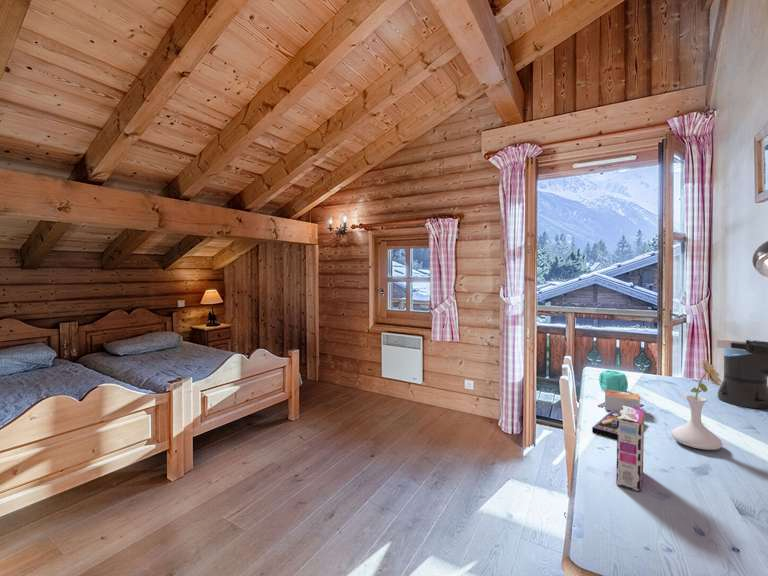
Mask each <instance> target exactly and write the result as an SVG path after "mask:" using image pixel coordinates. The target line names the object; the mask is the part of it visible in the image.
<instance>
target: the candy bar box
mask: <svg viewBox="0 0 768 576" xmlns="http://www.w3.org/2000/svg"><path fill="white" fill-rule="evenodd" d="M618 413H619V415H618V417H617V439H616V481H615V484H616V485H617V486H619V487H623V488H626V489H628V488H629V490H631V489H633V490H632V491H634V490H637V491H636V492H638V491H639V493H640V492H641V488H642V480H643V476H644V439H645V437H644V436H645V435H644V434H645V409H643V408H640V409H639V408H634V407H628V406H622V408H621V410H620V412H618Z"/></svg>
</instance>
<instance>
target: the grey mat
mask: <svg viewBox="0 0 768 576" xmlns="http://www.w3.org/2000/svg"><path fill="white" fill-rule="evenodd" d="M599 406H601V407H600V408H603V407H605V401H604V402H602V403H599V404H598V405H597V407H599ZM642 406H644V404H642V403H640V408H641V407H642Z"/></svg>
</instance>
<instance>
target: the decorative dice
mask: <svg viewBox="0 0 768 576" xmlns="http://www.w3.org/2000/svg"><path fill="white" fill-rule="evenodd" d="M598 383H599V386H600V388H601V390H602V391H603V392H604V391H606V390H613V391H620V392H627V390H628V389H629V387H628V386H629V382H628V378H627V376H626V374H624V372H622V371H618V370H612V369H611V370H602V371H601V372H600V373H599V376H598Z"/></svg>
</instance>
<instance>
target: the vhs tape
mask: <svg viewBox="0 0 768 576" xmlns="http://www.w3.org/2000/svg"><path fill="white" fill-rule="evenodd" d="M618 415H619V412H615V411H608V413H606V414H605V416H603V417H602V418H601V419H600V420H599V421H598V422H597V423H595V424H594V425H593V426H592V427H591V428H592V429H591V432H593V433H592V434H595V433H597V434H596V435H599V434H601V435H600V436H602V435H603V437H606V436H607V437H606V438H609V437H610V438H609V439H614V440H617V417H618Z"/></svg>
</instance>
